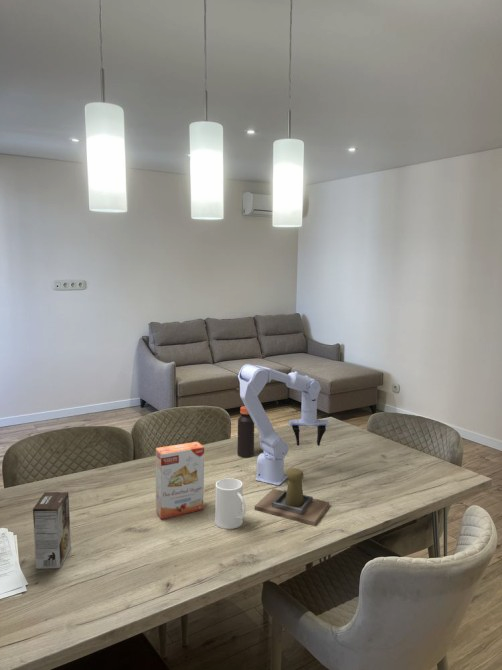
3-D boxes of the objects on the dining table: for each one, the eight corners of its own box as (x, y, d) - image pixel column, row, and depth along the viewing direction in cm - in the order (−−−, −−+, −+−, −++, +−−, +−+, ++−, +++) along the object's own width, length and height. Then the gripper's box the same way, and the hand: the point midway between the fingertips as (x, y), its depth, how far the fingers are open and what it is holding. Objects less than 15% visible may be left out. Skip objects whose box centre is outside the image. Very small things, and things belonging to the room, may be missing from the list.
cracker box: (161, 520, 142) (160, 453, 140) (155, 511, 148) (154, 447, 145) (204, 510, 149) (204, 446, 146) (197, 502, 154) (197, 440, 152)
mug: (254, 528, 139) (255, 489, 137) (230, 537, 134) (230, 497, 132) (232, 511, 148) (233, 475, 147) (209, 519, 143) (209, 481, 142)
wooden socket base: (254, 509, 150) (254, 501, 149) (273, 491, 162) (273, 484, 162) (314, 525, 141) (314, 517, 140) (329, 505, 153) (329, 497, 153)
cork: (301, 508, 148) (302, 475, 147) (282, 505, 150) (283, 472, 149) (305, 500, 154) (306, 467, 152) (287, 497, 156) (288, 465, 154)
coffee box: (47, 548, 127) (44, 491, 125) (71, 547, 128) (69, 490, 126) (34, 569, 118) (31, 508, 116) (61, 568, 119) (58, 507, 117)
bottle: (253, 458, 192) (254, 410, 189) (237, 457, 192) (237, 409, 189) (253, 451, 198) (254, 405, 196) (237, 451, 199) (238, 405, 196)
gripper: (290, 412, 173) (289, 448, 174) (330, 412, 173) (329, 448, 175) (288, 407, 180) (288, 441, 181) (327, 407, 180) (325, 441, 182)
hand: (308, 444), depth 178 cm, fingers open, 7 cm apart
